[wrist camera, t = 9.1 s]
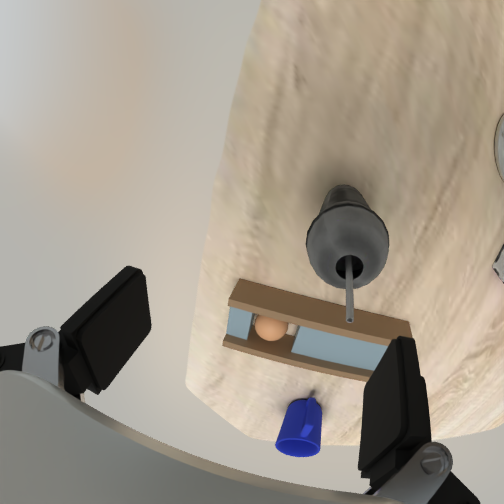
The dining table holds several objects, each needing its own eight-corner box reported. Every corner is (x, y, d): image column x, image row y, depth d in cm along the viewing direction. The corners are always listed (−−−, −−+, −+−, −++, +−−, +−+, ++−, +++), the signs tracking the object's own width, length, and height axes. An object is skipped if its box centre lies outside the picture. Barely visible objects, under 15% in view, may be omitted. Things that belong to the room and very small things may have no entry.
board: (408, 321, 40) (414, 344, 35) (384, 362, 44) (385, 385, 40) (239, 278, 43) (228, 298, 39) (232, 324, 48) (222, 345, 44)
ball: (272, 296, 44) (298, 313, 42) (266, 320, 47) (290, 337, 44) (250, 310, 41) (277, 329, 39) (245, 334, 43) (270, 352, 41)
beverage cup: (374, 173, 32) (417, 252, 15) (372, 231, 35) (398, 348, 18) (312, 173, 34) (289, 250, 17) (315, 231, 37) (294, 345, 20)
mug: (337, 388, 49) (333, 434, 41) (319, 420, 55) (312, 460, 47) (294, 380, 51) (284, 425, 42) (281, 412, 57) (271, 452, 48)
